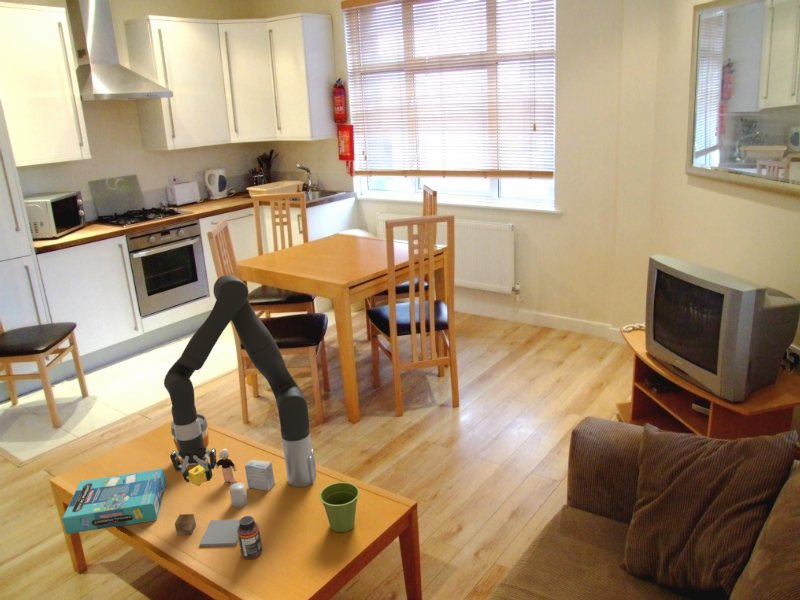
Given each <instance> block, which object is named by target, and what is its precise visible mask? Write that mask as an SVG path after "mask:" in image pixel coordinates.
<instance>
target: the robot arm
mask: <svg viewBox="0 0 800 600" xmlns="http://www.w3.org/2000/svg"><path fill="white" fill-rule="evenodd" d="M213 296H214V299H215V303H214V306H213V307H212V309H211V311H210V313H209V315H208V316H207V317H206V319H205V321H204V322H203V323H202V324H201V325H200V327H199V328H197V329H196V331H195V332H194V334H193V335H191V338H189V340H188V343H187V344H186V346H185V348H184V349H183V351H182V353H181V355H180V357H179V358H178V359H177V360H176V361H175V362H174V363H173V364H172V366H171V367H170V368H169V369H168V371H167V373H166V374H165V376H164V379H163V385H164V388H165V389H166V391H167V392H168V395H169V397H170V402H171V416H172V422H173V421H174V429H175V435H176V439H177V443H178V448H179V451H177V450H172V452H171V453H170V455H169V457H170V460H171V462H172V465H173V468H174V471H176V472H181V473H182V478H183V481H185V483H189V482H190V481H189V479H187V478H186V477H188V471H189V470H190V469H189V468H188V466H189V465H188V464H192V463H199V464H198V465H200V466H201V467H203V468H204V469H205V470H206V471H205V473H206V478H207V482H210V481H211V480H212V478H213V470H214V469H215V468H216V464H217V450H216V448H215V447H212V448H211V449H208V450H207V449H206V448H205V446H204V441H203V436H202V431H201V426H200V422H199V420H198V416H197V414H198V412H197V408H196V407H197V406H196V403H195V399H196V398H195V391H194V389H195V388H194V385H193V382H192V380H191V376H193V374H194V373H195V371H199V370H201V369H202V368H203V366H204V365H205V362H206V361H207V360H208V357H209V356H210V355H211V352H212V350H213V349H214V347H215V345H216V344H217V342H218V340H219V339H220V337H221V335H222V333H224V331H225V329H226V328H227V327H228V325H229V324H230V323H232V325H233V326H234V328H235V331H236V333H237V336H238V338H239V340H240V342H241V344H242V346H243V348H244V351H245V352H246V354H247V356H248V358H249V359H250V361H251V362H252V364H253V365H254V366H253V367H255V368H256V369H257V371H258V372H259V373H260V374H261V375H262V376H263V377H264V379H266V381H267V383H268V384H269V387H270V389H271V391H272V393H273V396H274V399H275V402H276V406H277V410H278V411H277V412H278V417H279V425H280V433H281V434H280V435H281V443H282V448H283V454H284V462H285V463H284V464H285V470H286V478H287V482H288V484H289V485H290V486H292V487H294V488H301V487H306V486H309V485H313V484H314V483H315V480H316V477H317V466H316V457H315V452H314V451H315V450H314V449H313V447H312V441H311V432H310V431H311V430H310V417H309V409H308V403H307V400H306V397H305V394H304V392H303V390H302V389H301V388H300V386H299V385H298V383H297V382H296V381H295V379H294V377H292V375H291V373H290V371H289V369H288V368H287V366H286V363H285V360H284V358H283V355H282V353H281V351H280V348H279V347H278V345H277V343H276V341H275V339H274V337H273V336H272V334H271V332H270V331H269V329H268V328H267V326H265V324H264V323H263V321H262V320H261V319H260V318H259V316H258V315H257V314H256V312H255V311H254V309H253V307H252V305H251V303H250V301H249V299H248V297H249V289H248V286H247V284H246V283H245V282H244V281H242V280H241V279H240V278H238V277H237V276H234V275H228V274H227V275H226V274H225V275H222V276H220V277H218V278H217V279H216V281H215V282H214V285H213ZM205 454H208V458H209V460H208V458H207V457H206V456H205ZM179 457H181V458H179ZM182 458H183V459H184V462H183V461H182V463H181V460H180V459H182ZM202 460H203V461H202Z"/></svg>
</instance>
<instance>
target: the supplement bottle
mask: <svg viewBox="0 0 800 600" xmlns="http://www.w3.org/2000/svg"><path fill="white" fill-rule="evenodd" d="M239 523H240V525H239V527H238V530H237V532H238V538H239V540H238V543H239V548H240V553H241V556H242V557H243V558H244V559H247V560H250V559H251V560H252V559H255V558H257V557H259V556H260V555H261V554H262V552H263V545H262V539H261V538H262V537H261V534H260V527H259V525H258V523H257V521H256V522H255V519H254V517H253V516H251V515H245V516H242V518H240V521H239Z"/></svg>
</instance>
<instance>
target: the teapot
mask: <svg viewBox="0 0 800 600" xmlns="http://www.w3.org/2000/svg"><path fill="white" fill-rule="evenodd" d="M205 471H206V470H205V469H204V468H203V467H201V466H200V464H197V465H195V467H193V468H191V469H189V471H188V477H186V478H187V479H189V482H190V483H191V484H193V485H195V486H196V487H200V486H202V484H203V483H205V482H206V483H207V482H208V481H207V478H206V473H205Z"/></svg>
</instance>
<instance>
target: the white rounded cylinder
mask: <svg viewBox="0 0 800 600" xmlns="http://www.w3.org/2000/svg"><path fill="white" fill-rule="evenodd" d="M228 490H229V494H230V495H229V496H230V501H231V506H232V507H233V508H235V509H240V508H243V507H245V506H247V505H248V502H249V501H248V494H247V489H246V484H245V483H244V482H237V483H235V484H233V485H229V487H228Z"/></svg>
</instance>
